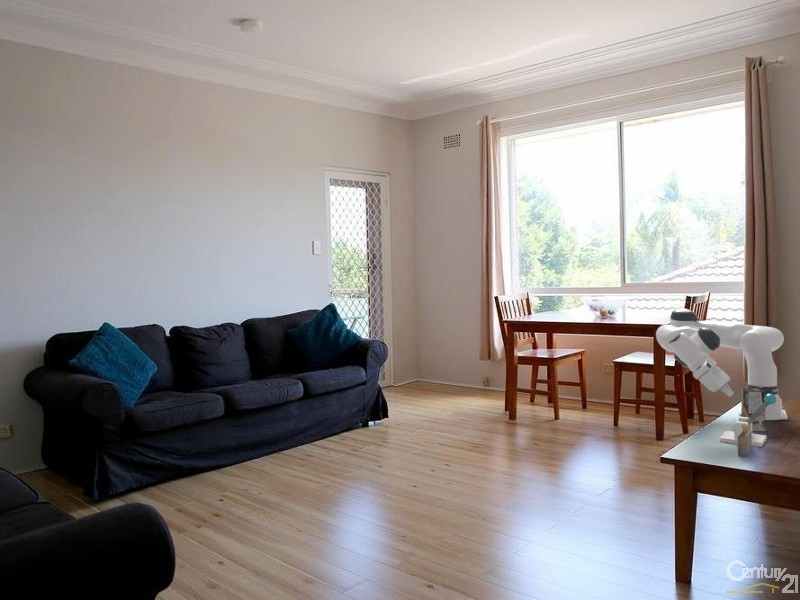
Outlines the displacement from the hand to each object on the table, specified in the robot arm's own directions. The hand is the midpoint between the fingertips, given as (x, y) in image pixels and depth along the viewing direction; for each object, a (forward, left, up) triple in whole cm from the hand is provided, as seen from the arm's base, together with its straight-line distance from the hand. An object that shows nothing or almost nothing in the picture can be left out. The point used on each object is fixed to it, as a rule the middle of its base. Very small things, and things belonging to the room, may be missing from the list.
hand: (731, 395), depth 246 cm
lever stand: (-1, +3, -17) cm, 18 cm away
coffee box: (-22, +3, -18) cm, 29 cm away
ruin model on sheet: (+15, +7, -18) cm, 25 cm away
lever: (-1, +3, -13) cm, 14 cm away
